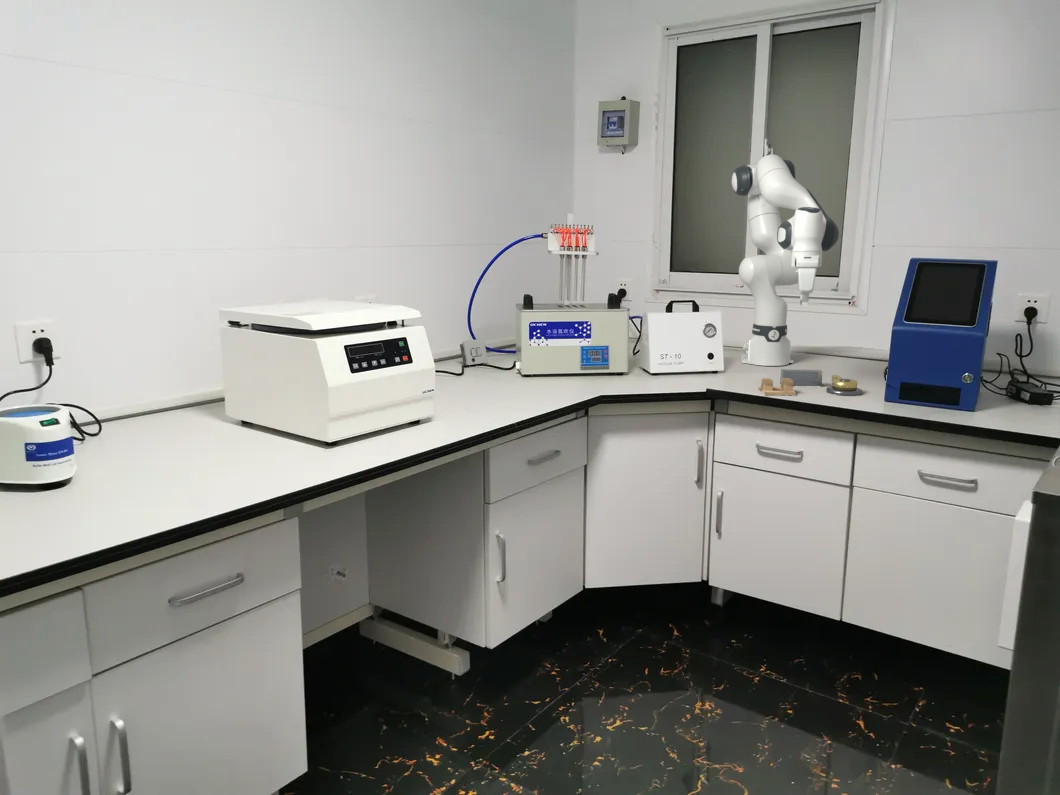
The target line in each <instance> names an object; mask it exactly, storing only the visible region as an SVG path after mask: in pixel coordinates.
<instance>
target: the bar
mask: <svg viewBox="0 0 1060 795" xmlns="http://www.w3.org/2000/svg"><path fill="white" fill-rule="evenodd" d="M823 372H824V371H822V370H821V369H780V379H779V380H780V381H779V385H780V384H781V380H782V378H790V379H791V380H793V387H795V386H821V387H822V384H823Z"/></svg>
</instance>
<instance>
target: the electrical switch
mask: <svg viewBox="0 0 1060 795" xmlns="http://www.w3.org/2000/svg"><path fill="white" fill-rule="evenodd" d="M459 347H460V354H461V358H462V362H463V363H462V364H463V365H464V364H466V365H465V366H467V365H472V364H479V363H487V362H488V363H489V359H488V355H487V354H488V353H487V348H486V344H485V339H484V338H477V339H469V340H468V339H467V340H463V341H462V343H460V344H459ZM488 363H487V364H488Z"/></svg>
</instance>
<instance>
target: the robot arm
mask: <svg viewBox="0 0 1060 795" xmlns="http://www.w3.org/2000/svg"><path fill="white" fill-rule="evenodd" d="M731 175H732V176H731V186H732V189H733V192H734V193H735V194H736V195H737V196H742V197H747V196H748V197H747V206H746V207H747V220H748V226H749V230H750V231H749V232H750V238H751V243H752V244H753V245H754V247H756V248H757V249H760V250H761V251H762V252H763V253H764V254H756V255H750V256H747V257H745V258H743V259H742V260H741V262H740V264H739V267H738V275H739V276H738V277H739V278H740V280H741V282H742V283H743V284H744V285H745V286H747V288H748V289H749V291H750V293H751V295H752V298H753V302H754V323H753V324H752V328H751V333H752V334H751V336H750V338H749V339H748V341H747V342H746V343H743V344H742V350H743V351H745V353H741V354H740V362H741V363H742V364H747V365H749V364H750V365H754V366H755V365H756V366H763V367H764V366H768V367H781V366H787V365H789V363H792V364H794V363H795V361H794V359H791V340H790V339H789V338H788V337H787V335H788V325H787V318H788V317H787V315H788V303H787V302H786V300H785V299H783V298H782V297H780V296H778V294H777V291H776V286H779V287H781V286H783V287H785V286H793V285H797V290H798V291H799V293H800V294H799V296H800V297H799V298H800V301H799V302H800V306H801V307H802V308H803V309H804V308H808V306H809V300H810V299H809V298H810V294H811V293H813V292H814V287H815V282H816V281H815V280H816V274H817V270H818V268H821V267H822V264H823V263H822V262H823V252H828V251H829V250H831V249H832V248H833V247H834V246H835V245H836V244H837V242H838V240H839V236H840V232H839V228H838V225H837V224H836V222H835V221H834V220H833V219H832V218H831V217H829V216H828V214H827V212H826V211H824V210H825V209H823V208H822V206H821V204H820V203H819V202H818V199H817V198H816V197H815V196H814V194H813V193H812V192H811V191H810V190H809V189H807V188H806V187H804V186H803V185H802V184H801V183H800V182H798V180H796V178H797V171H796V168H795V165H794V163H793V161H791V160H789V159H782V157H781V156H779V155H777V154H770V153H769V154H767V155H765V156H763V157H761V158H760V159H759V160H758V162H755V163H751V164H747V165H744V164H743V165H741V166H737V167H736V168H735V169H734V170H733V172H732V174H731ZM779 208H783V209H788V210H789V209H790V210H793V211H795V212H794V214H793V216H792V217H790V218H788V219H787V220H784V221H783V222H782V219H781V214H780V209H779Z"/></svg>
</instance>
